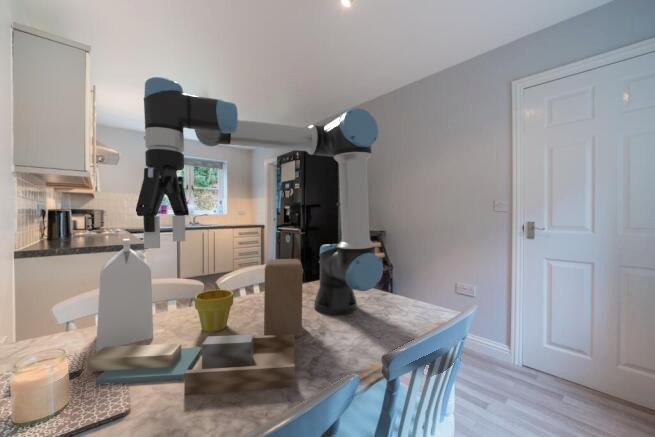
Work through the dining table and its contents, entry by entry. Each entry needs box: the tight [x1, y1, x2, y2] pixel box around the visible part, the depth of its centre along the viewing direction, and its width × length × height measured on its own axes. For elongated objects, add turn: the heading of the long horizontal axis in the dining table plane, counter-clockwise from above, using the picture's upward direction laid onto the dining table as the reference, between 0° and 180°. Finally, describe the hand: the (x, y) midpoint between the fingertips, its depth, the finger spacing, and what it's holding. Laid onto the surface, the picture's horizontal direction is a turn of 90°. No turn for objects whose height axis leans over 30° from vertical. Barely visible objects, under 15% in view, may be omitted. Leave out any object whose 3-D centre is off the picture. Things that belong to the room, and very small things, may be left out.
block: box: [263, 258, 304, 339], centre depth 76 cm, size 10×10×20 cm
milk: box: [95, 238, 154, 352], centre depth 72 cm, size 12×12×26 cm
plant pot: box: [194, 288, 234, 333], centre depth 78 cm, size 10×10×10 cm
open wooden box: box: [183, 334, 296, 396], centre depth 57 cm, size 20×14×7 cm
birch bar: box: [86, 343, 182, 373], centre depth 57 cm, size 16×5×2 cm, turn 97°
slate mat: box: [94, 346, 202, 386], centre depth 58 cm, size 16×11×1 cm
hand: (167, 244), depth 61 cm, fingers open, 13 cm apart
